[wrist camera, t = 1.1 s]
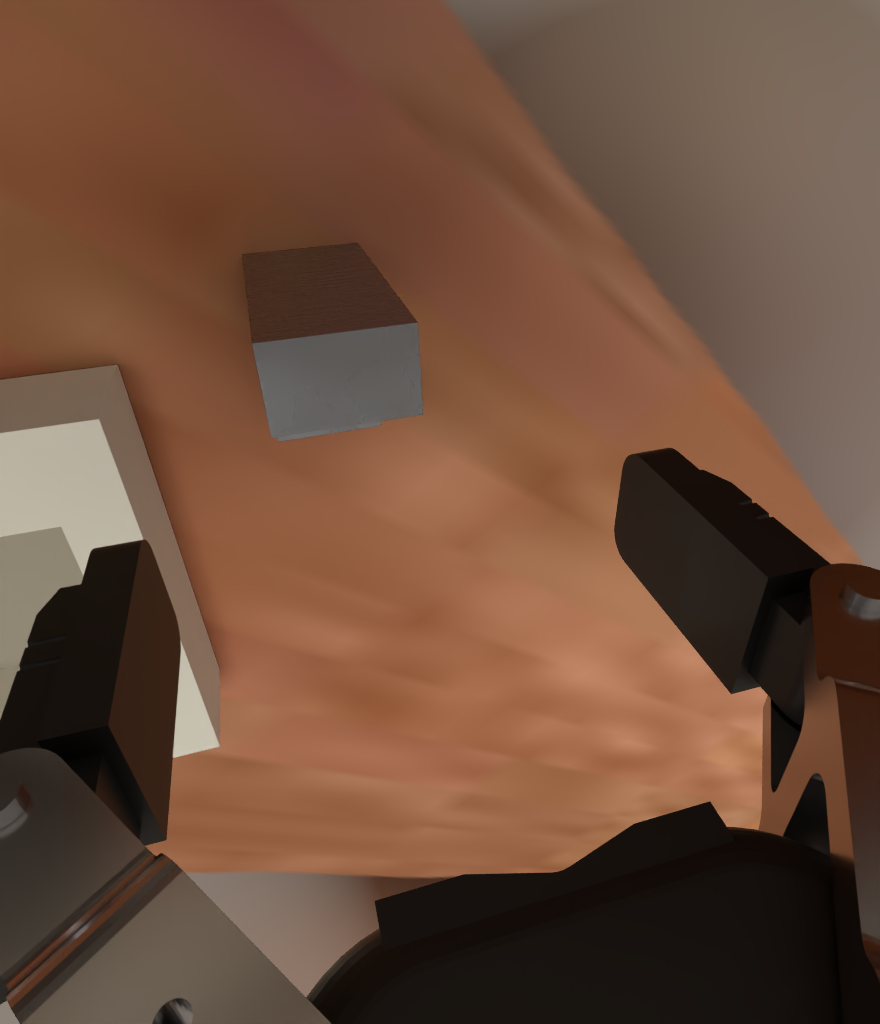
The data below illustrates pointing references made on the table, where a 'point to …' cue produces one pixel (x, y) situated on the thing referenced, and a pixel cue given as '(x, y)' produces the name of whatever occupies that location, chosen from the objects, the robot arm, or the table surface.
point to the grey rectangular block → (330, 341)
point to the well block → (88, 522)
